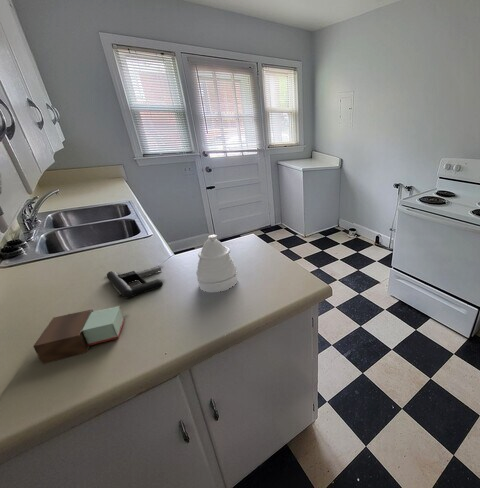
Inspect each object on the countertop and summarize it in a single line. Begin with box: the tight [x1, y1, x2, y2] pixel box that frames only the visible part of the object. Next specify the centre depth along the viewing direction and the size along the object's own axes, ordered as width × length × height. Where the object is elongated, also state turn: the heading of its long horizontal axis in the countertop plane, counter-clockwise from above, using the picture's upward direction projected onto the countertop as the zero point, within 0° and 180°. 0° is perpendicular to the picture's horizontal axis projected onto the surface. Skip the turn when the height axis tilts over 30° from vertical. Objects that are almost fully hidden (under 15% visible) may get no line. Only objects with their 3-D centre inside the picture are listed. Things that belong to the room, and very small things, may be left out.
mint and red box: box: [82, 305, 125, 347], centre depth 69 cm, size 6×8×5 cm
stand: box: [33, 309, 94, 364], centre depth 66 cm, size 8×11×5 cm
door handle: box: [105, 265, 164, 299], centre depth 94 cm, size 3×20×16 cm
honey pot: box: [195, 234, 239, 293], centre depth 91 cm, size 13×13×18 cm
